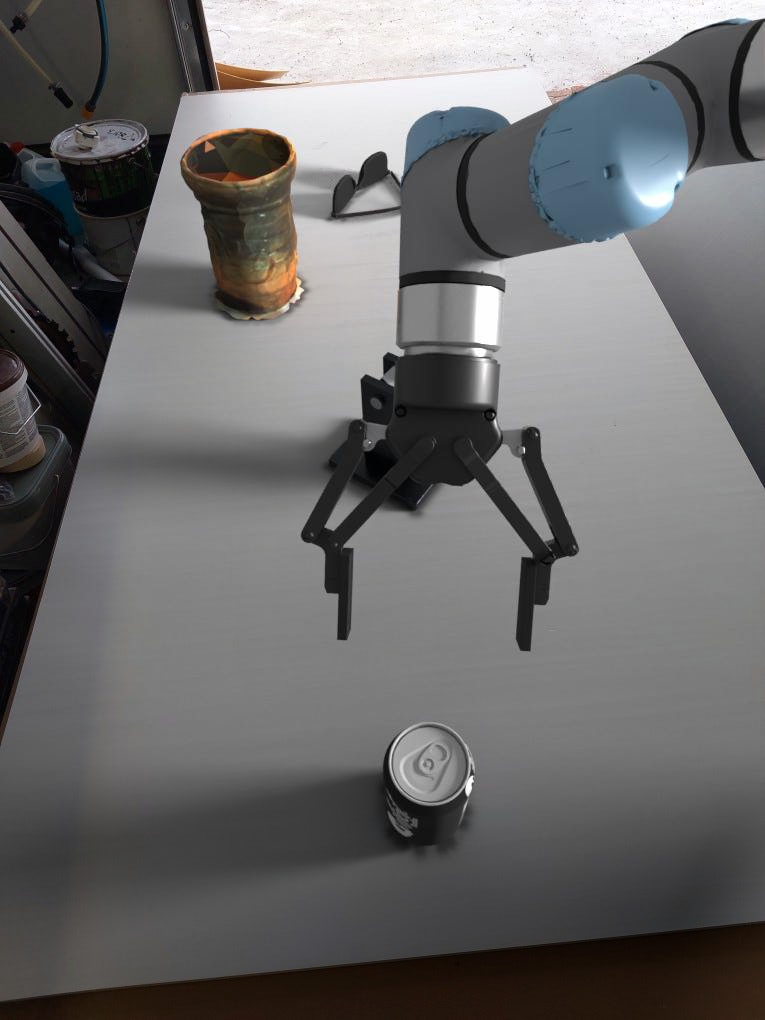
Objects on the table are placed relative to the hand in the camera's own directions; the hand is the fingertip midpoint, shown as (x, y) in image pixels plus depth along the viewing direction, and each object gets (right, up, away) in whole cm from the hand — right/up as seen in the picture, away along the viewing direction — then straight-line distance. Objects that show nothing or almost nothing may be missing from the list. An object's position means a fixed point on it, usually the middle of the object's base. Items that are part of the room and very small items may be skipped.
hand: (432, 640), depth 52 cm
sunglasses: (-3, +60, +61) cm, 86 cm away
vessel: (-21, +42, +48) cm, 67 cm away
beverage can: (0, -15, +5) cm, 16 cm away
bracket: (-3, +15, +28) cm, 32 cm away
